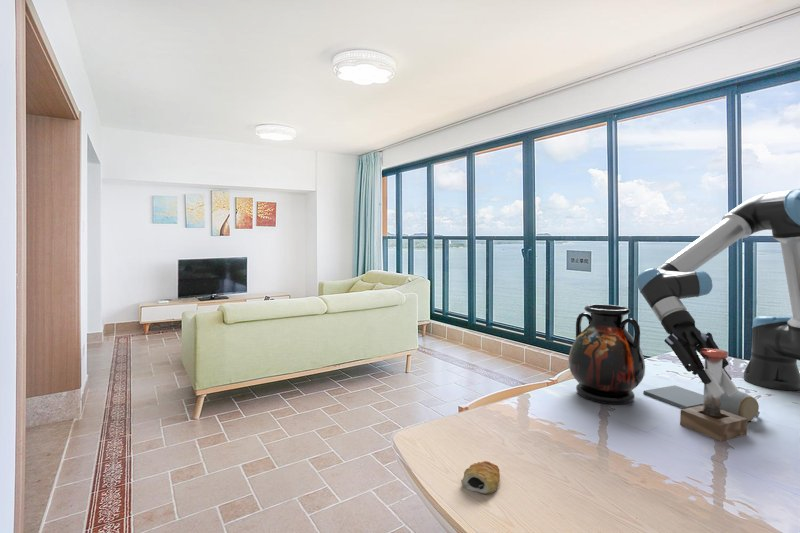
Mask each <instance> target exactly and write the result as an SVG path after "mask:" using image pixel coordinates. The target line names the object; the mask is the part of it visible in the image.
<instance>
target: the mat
mask: <svg viewBox="0 0 800 533" xmlns="http://www.w3.org/2000/svg"><path fill="white" fill-rule="evenodd" d="M643 394H644V395H646V396H648V397H651V398H654V399H656V400H659V401H662V402H664V403H666V404H670V405H671V406H672V405H673V406H675V407H677V408H679V409H686V408H691V407H697V406H702V405H703V402H704V394H703V393H700V392H695V391H693V390H690V389H687V388H684V387H681V386H678V385H670V386H669V385H668V386H663V387H656V388H651V389H644V390H643Z"/></svg>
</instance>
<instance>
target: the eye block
mask: <svg viewBox="0 0 800 533" xmlns="http://www.w3.org/2000/svg"><path fill="white" fill-rule="evenodd" d="M679 414H680V417H679V418H680V420H679V425H680V426H682V427H685V428H687V429H690V430H692V431H695V432H696V433H700V434H702V435H705V436H706V437H709V438H711V439H714V440H717V441H719V442H721V441H727V440H730V439H735V438H737V437H742V436H745V435H748V421H747V420H748V419H746V418H743V417H741V416H738V415H735V414H732V413H729V412H726V411H724V410H721V415H720V416H713V415H708V414H706V413H704V412H703V405H702V406H697V407H691V408H686V409H682V408H680V413H679Z"/></svg>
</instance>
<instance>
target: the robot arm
mask: <svg viewBox="0 0 800 533" xmlns="http://www.w3.org/2000/svg"><path fill="white" fill-rule="evenodd" d="M767 230H769V231H771V233H772V238H773V239H774V240H776V241H778V242H779V243H780V246H781V252H782V259H783V264H784V265H783V266H784V271H785V277H786V284H787V289H788V294H789V301H790V306H791V312H792V316H787V315H786V316H785V315H758V316H756V317H754V319H753V320H752V326H751V349H750V350H751V354H750V359H749V361H748V364H747V365H746V368H745V370H744V371H743V379H744V381H746V382H747V383H749V384H753V385H756V386H760V387H763V388H768V389H774V390H782V391H800V370H799V367H798V363H797V362H798V361H800V188H797V189H796V188H795V189H791V190H782V191H774V192H767V193H762V194H759V195H756V196H753V197H752V198H749V199H747V200H746V201H744V202H742V203H741V204H739V205H738V206H736V207H735V208H733V209H731V210H730V211H729V212H728V213H726V214H725V215H723V217H722V219H721V221H720V222H719V223H718V224H716V225H714V226H713V227H712V228H711V229H709V230H708V231H706V232H705V233H703V234H702V235H701V236H699V237H698V238H697V239H695V240H694V241H692V242H691V243H690V244H688V245H687V246H686V247H684V248H683V249H682V250H680V251H678V252H677V253H675V255H673V256H671V257H670V258H669V259H668V260H666V261H665V262H664V263H662V264H660V265H659V266H658V267H656V268H653V267H652V268H648V269H645V270H643V272H641V273H640V274H638V275H637V277H636V278H635V285H636V287H637V289H638V290H639V293H640V294H641V295H642V296H643V298H644V300H645V301H646V303H647V304H648V305H649V307H650V308H651V310H652V311H653V313H654V314H655V317H656V318H657V320H658V321H659V322H660V324H661V326H662V328H663V329H664V330H665V332H666V333H667V334H668V336H667V337H666V338H665V339H664V342H665V343H666V344H667V346H669V347H670V348H671V350H672V351H673V354H675V355H676V357H677V359H678V360H679V361H680V363H681V364H682V365H683V367H684V369H685V370H686V371H687V372H691V374H692V375H694V376H696V375H697V376H698V377H699V379H700V381H701V382H702V383H703V385H704V384H706V386H707V387H708V389H709V390H710V392H711V393H712V395H713V396H714V398H717V397H719V396H720V395H722V394H724V391H723V390H722V388H721V387H720V386H719V384H718V383H717V381H716V380H715V378H714V377H713V375H712V374H711V372H710V371H709V369H705V365H704V364H703V362H702V360H701V358H700V356H701V357H702V359H703V360H705V356H702V355H701V354H700V349H702V348H714V349H720V348H719V346H718V345H717V343H716V342H715V339H714V338H713V335H712V333H711V332H707V333H703V332H701V330H700V329H698V328H697V326H696V320H695V319H694V318H693V316H692V315H691V313H690V312H689V311H688V310H687V307H686V306H685V304H684V303H683V302H682V301H681V300H682V299H683V300H684V299H690V298H700V297H702V296H706V295H708V294H710V293H711V292H712V289H713V279H712V277H711V275H710V274H709V273H708V272H706V271H703V270H698V269H699V268H700V267H702V266H703V265H704V264H706V263H708V262H709V261H710V260H712V259H714V257H716V256H718V255H719V254H721V253H722V252H723V251H724V250H726V249H727V248H729V247H730V246H732V245H733V244H735V243H736V242H737V241H739V240H740V239H746V238H749V237H750V236H751V235H753V234H754V233H757V232H758V233H759V232H762V231H767ZM699 355H700V356H699ZM728 365H730V364H729V361H728V360H727V358H723V359H722V387H723V389H724V390H725V392H726V393H727V395H728V396H729V397H730V396H733V395H734V394H736V393H738V392H739V391H740V390H739V389H738V388H737V387H736V385H735V384H734V382H733V380H732V377H731V376H730V375H729V373H728V371H727V370H726V369H725V368H726V367H727V366H728Z"/></svg>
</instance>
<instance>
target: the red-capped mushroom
mask: <svg viewBox="0 0 800 533" xmlns="http://www.w3.org/2000/svg"><path fill="white" fill-rule="evenodd" d="M700 354H701V355H702V356H705V359H704V370H705V369H709V371H710V372H711V374H712V375H713V377H714V378H715V380H716V381H717V383H718V384H719V386H720V387H721V388H722V359H723V358H726V359H727V358H728V351H726V350H724V349H720V348H719V349H714V348H702V349H700ZM700 354H699V355H700ZM701 355H700V356H701ZM702 356H701V357H702ZM703 395H704V402H703V412H704V413H706V414H708V415H713V416H720V415H721V395H720V396H719V397H717V398H714V396H713V395H712V393H711V392H710V390H709V389H708V387H707V386H706V384H704V383H703Z"/></svg>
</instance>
